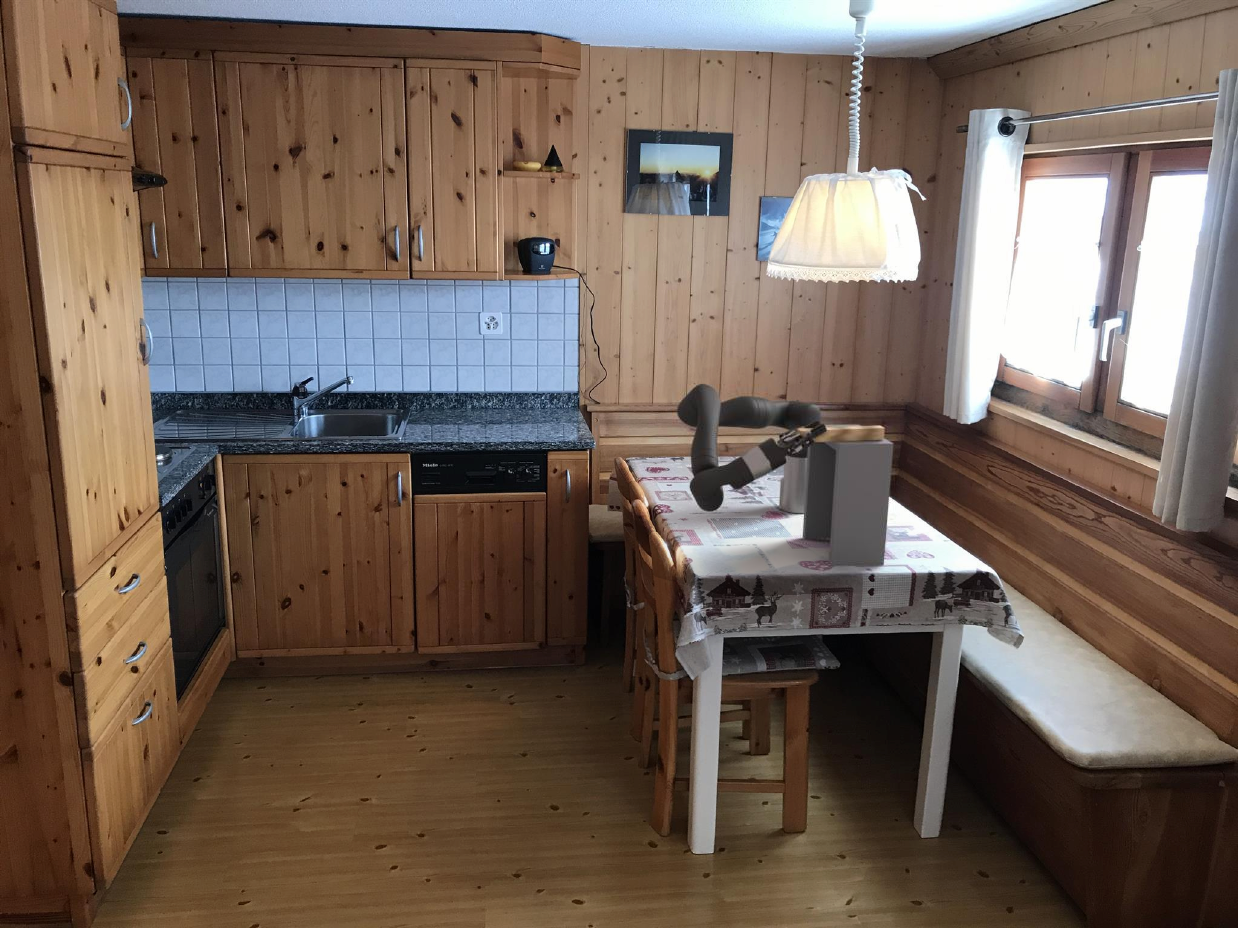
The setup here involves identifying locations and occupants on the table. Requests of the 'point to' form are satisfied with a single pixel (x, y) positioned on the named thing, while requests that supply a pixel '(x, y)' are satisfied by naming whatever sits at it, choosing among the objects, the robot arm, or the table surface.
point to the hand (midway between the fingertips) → (822, 425)
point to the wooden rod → (848, 433)
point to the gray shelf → (849, 498)
